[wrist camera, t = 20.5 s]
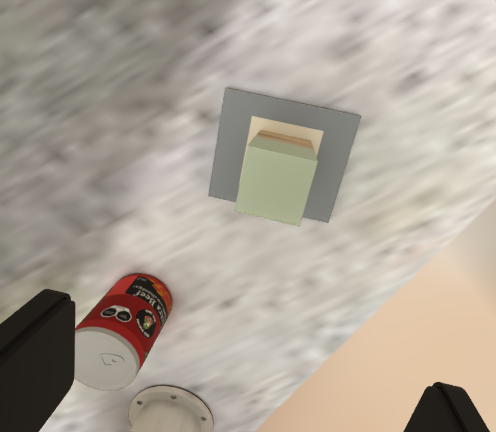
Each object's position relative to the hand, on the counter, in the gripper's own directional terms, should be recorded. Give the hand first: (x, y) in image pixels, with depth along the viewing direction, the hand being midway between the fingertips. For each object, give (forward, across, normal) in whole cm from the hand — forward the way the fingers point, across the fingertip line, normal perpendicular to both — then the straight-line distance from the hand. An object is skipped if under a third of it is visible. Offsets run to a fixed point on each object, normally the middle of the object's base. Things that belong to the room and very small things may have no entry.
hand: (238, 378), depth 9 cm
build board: (+28, 0, -1) cm, 28 cm away
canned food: (+29, +13, +20) cm, 38 cm away
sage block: (+22, 0, -1) cm, 22 cm away
